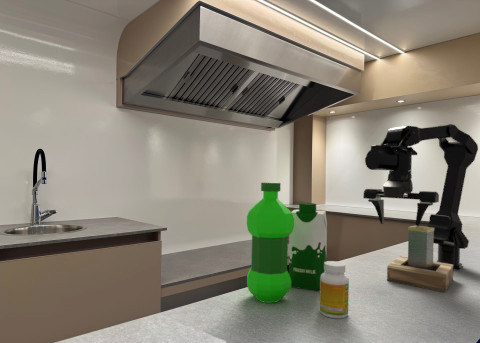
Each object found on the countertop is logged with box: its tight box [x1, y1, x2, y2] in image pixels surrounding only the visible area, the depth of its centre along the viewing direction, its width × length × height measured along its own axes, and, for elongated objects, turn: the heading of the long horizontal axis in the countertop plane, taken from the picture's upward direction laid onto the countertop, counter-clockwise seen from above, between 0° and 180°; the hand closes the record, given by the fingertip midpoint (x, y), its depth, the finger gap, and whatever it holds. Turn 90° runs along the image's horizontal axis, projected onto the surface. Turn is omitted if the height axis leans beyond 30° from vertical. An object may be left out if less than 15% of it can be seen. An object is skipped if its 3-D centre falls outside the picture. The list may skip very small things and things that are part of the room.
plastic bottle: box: [246, 182, 294, 304], centre depth 73 cm, size 10×10×25 cm
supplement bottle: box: [319, 260, 350, 319], centre depth 66 cm, size 5×5×10 cm
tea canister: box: [407, 224, 434, 271], centre depth 88 cm, size 5×5×13 cm
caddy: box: [386, 255, 454, 294], centre depth 88 cm, size 13×13×4 cm
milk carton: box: [288, 202, 328, 292], centre depth 83 cm, size 9×9×20 cm
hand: (399, 225), depth 96 cm, fingers open, 9 cm apart
